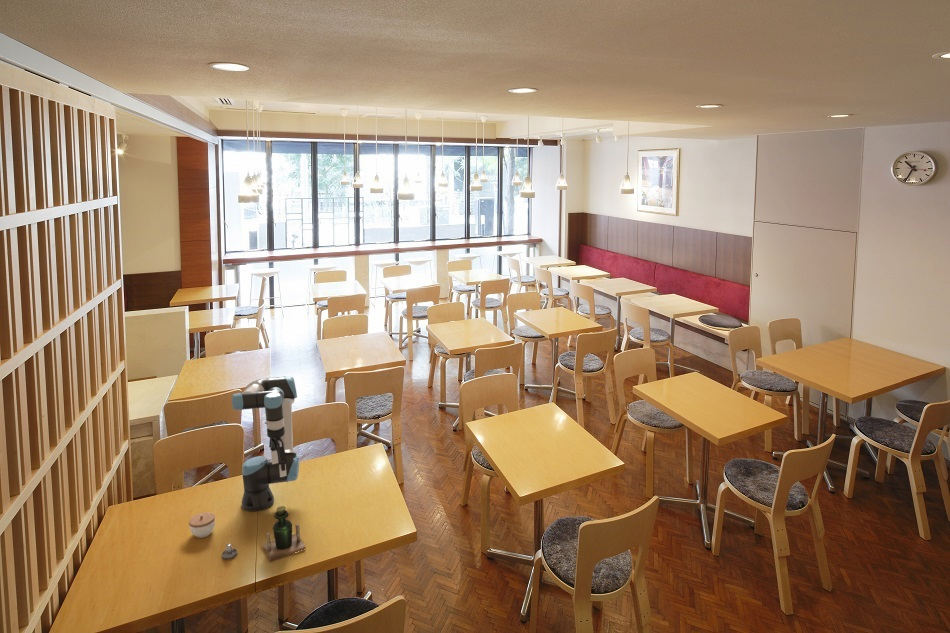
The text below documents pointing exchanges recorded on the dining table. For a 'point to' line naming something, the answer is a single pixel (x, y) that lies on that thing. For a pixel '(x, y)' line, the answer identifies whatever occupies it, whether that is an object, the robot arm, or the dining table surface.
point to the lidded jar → (202, 524)
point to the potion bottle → (282, 529)
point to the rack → (276, 553)
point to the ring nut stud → (229, 552)
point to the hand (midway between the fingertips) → (279, 469)
